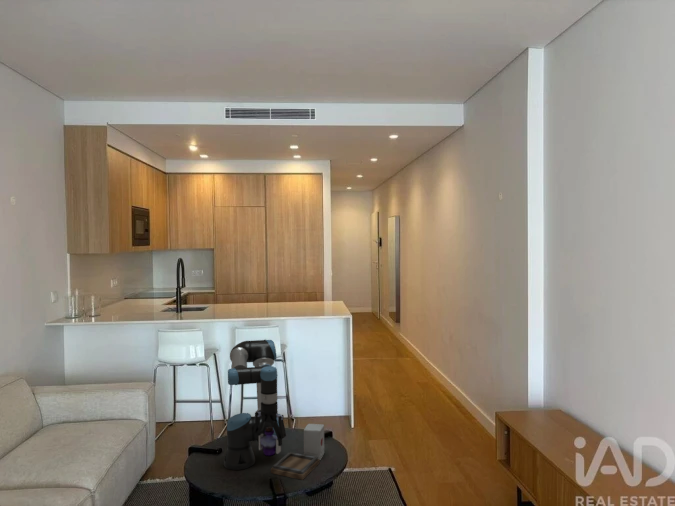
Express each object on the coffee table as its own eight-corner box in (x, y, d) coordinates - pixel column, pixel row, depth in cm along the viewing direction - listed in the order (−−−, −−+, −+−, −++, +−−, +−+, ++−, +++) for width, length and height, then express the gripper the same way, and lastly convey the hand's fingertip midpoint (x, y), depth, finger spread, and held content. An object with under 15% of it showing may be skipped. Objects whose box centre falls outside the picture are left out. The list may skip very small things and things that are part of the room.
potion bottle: (277, 448, 217) (277, 423, 216) (280, 456, 208) (280, 430, 208) (259, 450, 214) (258, 425, 214) (261, 459, 206) (261, 432, 206)
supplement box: (320, 460, 231) (320, 431, 231) (303, 459, 233) (303, 429, 233) (324, 452, 240) (324, 424, 240) (308, 451, 242) (307, 423, 242)
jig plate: (270, 473, 219) (270, 466, 219) (289, 457, 236) (289, 451, 236) (302, 479, 212) (302, 473, 212) (319, 463, 229) (319, 456, 229)
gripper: (244, 401, 212) (245, 449, 212) (285, 407, 203) (285, 458, 204) (254, 396, 219) (254, 443, 219) (293, 401, 210) (294, 451, 211)
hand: (269, 450), depth 211 cm, fingers closed on potion bottle, 9 cm apart
